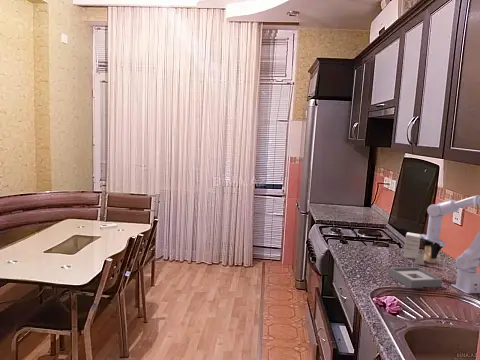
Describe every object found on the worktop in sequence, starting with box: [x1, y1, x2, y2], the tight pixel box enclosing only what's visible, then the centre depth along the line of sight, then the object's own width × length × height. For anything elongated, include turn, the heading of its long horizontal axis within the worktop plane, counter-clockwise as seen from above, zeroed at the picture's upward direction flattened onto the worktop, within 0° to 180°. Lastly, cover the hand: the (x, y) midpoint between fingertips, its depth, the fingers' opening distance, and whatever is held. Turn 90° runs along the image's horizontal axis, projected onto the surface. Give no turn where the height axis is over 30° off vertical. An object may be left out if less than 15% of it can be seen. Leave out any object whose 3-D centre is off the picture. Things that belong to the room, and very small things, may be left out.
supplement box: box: [402, 231, 422, 260], centre depth 231 cm, size 7×7×13 cm
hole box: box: [387, 266, 443, 289], centre depth 192 cm, size 16×16×4 cm
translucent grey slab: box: [414, 253, 425, 266], centre depth 218 cm, size 7×2×8 cm, turn 68°
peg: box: [423, 246, 438, 263], centre depth 201 cm, size 4×4×7 cm
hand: (430, 256), depth 201 cm, fingers closed on peg, 4 cm apart
